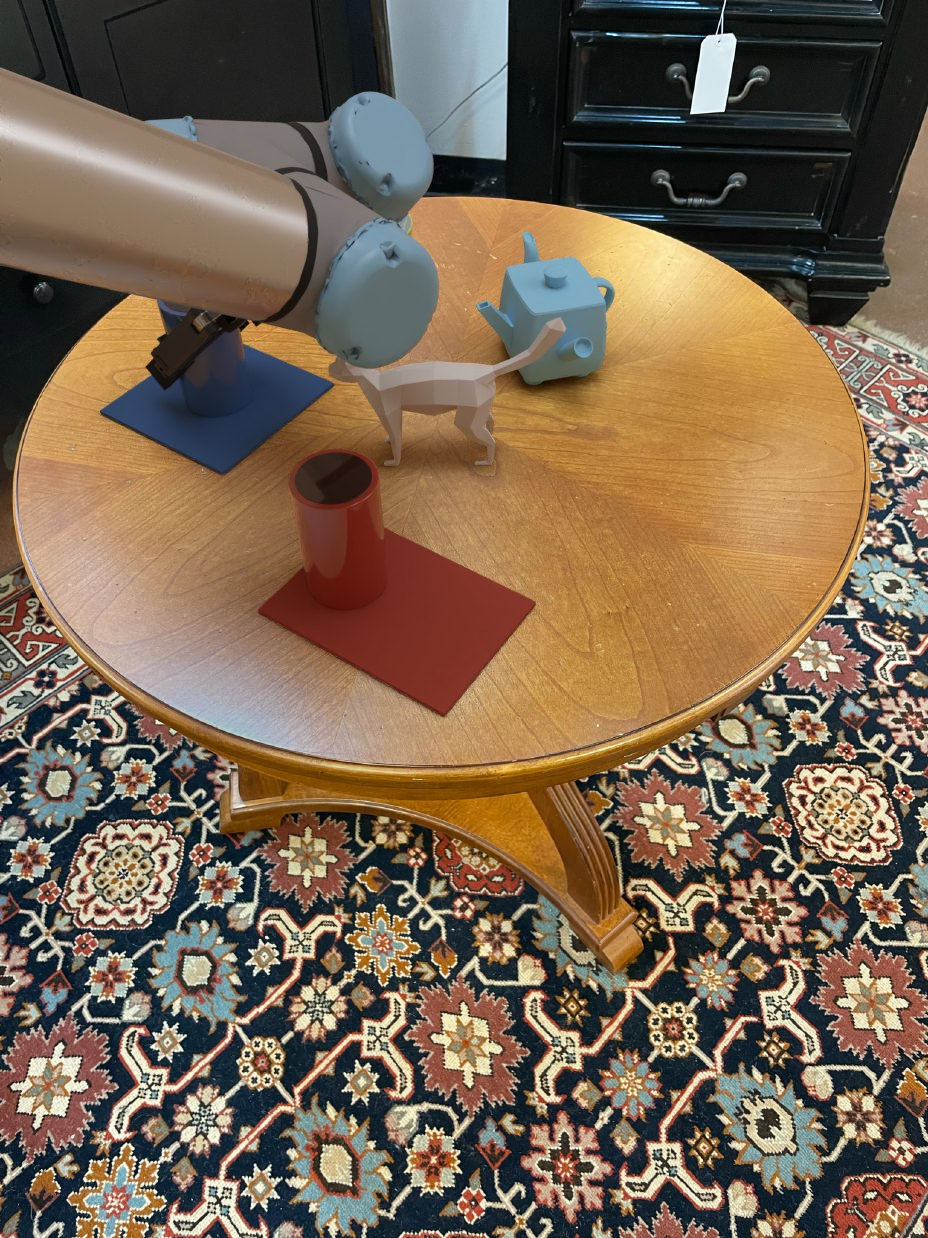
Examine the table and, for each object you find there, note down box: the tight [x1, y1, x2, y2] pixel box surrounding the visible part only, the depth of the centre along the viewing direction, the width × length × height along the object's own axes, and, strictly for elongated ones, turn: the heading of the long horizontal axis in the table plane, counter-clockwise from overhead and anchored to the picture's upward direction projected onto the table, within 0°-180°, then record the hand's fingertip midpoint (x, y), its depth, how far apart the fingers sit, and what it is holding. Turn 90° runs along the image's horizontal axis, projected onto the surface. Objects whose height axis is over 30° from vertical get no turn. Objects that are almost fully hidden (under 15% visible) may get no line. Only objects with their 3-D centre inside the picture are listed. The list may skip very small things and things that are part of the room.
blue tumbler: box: [156, 300, 253, 417], centre depth 89 cm, size 7×7×11 cm
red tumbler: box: [287, 448, 388, 610], centre depth 74 cm, size 7×7×11 cm
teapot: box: [475, 231, 616, 386], centre depth 94 cm, size 18×14×10 cm
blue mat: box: [99, 343, 335, 476], centre depth 93 cm, size 16×16×1 cm
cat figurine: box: [328, 317, 566, 467], centre depth 83 cm, size 4×20×14 cm, turn 91°
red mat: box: [257, 527, 537, 718], centre depth 76 cm, size 18×13×1 cm
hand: (185, 357), depth 92 cm, fingers closed on blue tumbler, 7 cm apart
